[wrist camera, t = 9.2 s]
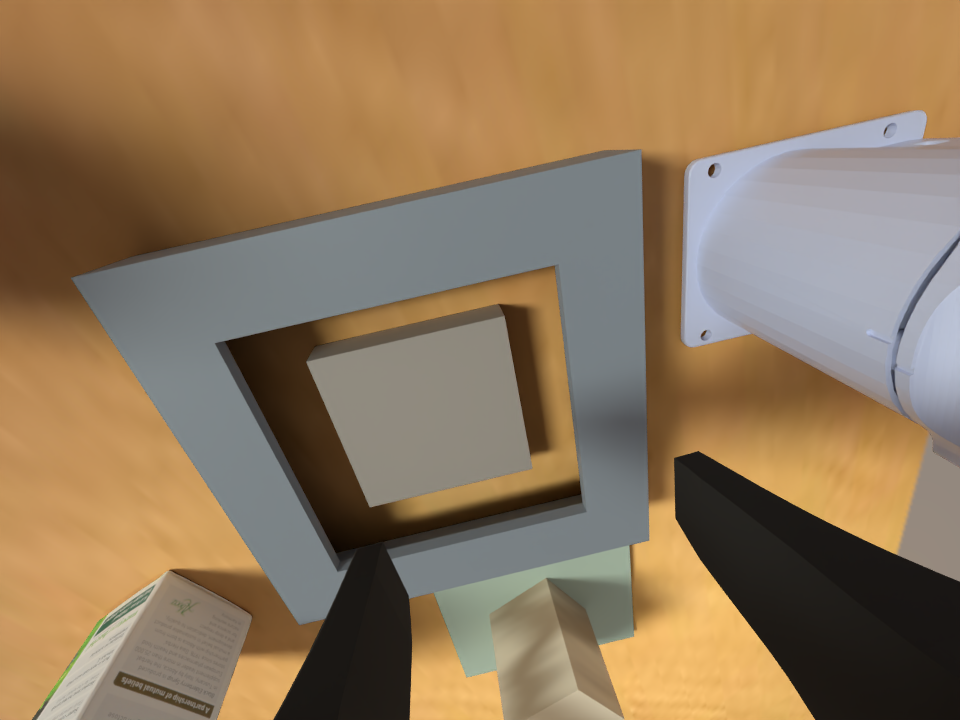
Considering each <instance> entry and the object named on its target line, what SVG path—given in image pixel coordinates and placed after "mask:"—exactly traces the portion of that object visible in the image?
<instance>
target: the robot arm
mask: <svg viewBox="0 0 960 720" xmlns="http://www.w3.org/2000/svg"><path fill="white" fill-rule="evenodd" d="M926 121H927V116H926V114H925V112H923V111H922V110H917V111H908V112H903V113H899V114H894V115H890V116H886V117H881V118H877V119H872V120H868V121H864V122H859V123H855V124H850V125H846V126H841V127H837V128H833V129H828V130H824V131H819V132H815V133H810V134H806V135H802V136H797V137H793V138H788V139H784V140H779V141H775V142H771V143H766V144H762V145H757V146H753V147H748V148H744V149H740V150H735V151H731V152H726V153H722V154H718V155H713V156H709V157H704V158H700V159H696V160H694V161H692V162H691V163H690V164H689V165H688V167H687V168H686V170H685V175H684V214H683V259H682V305H681V341H682V342H683V343H684V344H685V345H686V346H688V347H697V346H702V345H706V344H710V343H714V342H719V341H723V340H727V339H731V338H736V337H740V336H744V335H749V334H754V335H756V336H757V337H759V338H761V339H763V340H765V341H767V342H768V343H770V344H772V345H774V346H776V347H778V348H779V349H781V350H783V351H785V352H787V353H789V354H790V355H792V356H794V357H796V358H798V359H800V360H801V361H803V362H805V363H807V364H809V365H811V366H812V367H814V368H816V369H818V370H820V371H822V372H823V373H825V374H827V375H829V376H831V377H833V378H834V379H836V380H838V381H840V382H842V383H844V384H845V385H847V386H849V387H851V388H853V389H855V390H856V391H858V392H860V393H862V394H864V395H866V396H867V397H869V398H871V399H873V400H875V401H877V402H878V403H880V404H882V405H884V406H886V407H888V408H889V409H891V410H893V411H895V412H897V413H899V414H900V415H902V416H904V417H906V418H908V419H910V420H911V421H913V422H915V423H917V424H919V425H921V426H922V427H923V428H925V429H926V430H927V431H928V432H929V433H930V435H931V436H932V440H933V452H934V453H936V454H937V455H939V456H941V457H942V458H944V459H946V460H948V461H949V462H951V463H953V464H955V465H956V466H958V467H960V138H932V139H922V138H923V134H924V130H925V126H926ZM886 127H887V131H886V133H885V135H884V130H885V128H886ZM712 164H714V166H715V171H714V173H713V175H712V176H709V175H708V170H709V167H710V166H711V165H712ZM705 330H707V331H706V334H705V335H704V336H702V337H700V336H701V334H702V333H703V331H705ZM674 471H675V516H676V520H677V521H678V523H679V525H680V527H681V528H682V530H683V532H684V534H685V535H686V537H687V539H688V540H689V542H690V544H691V545H692V547H693V549H694V550H695V552H696V553H697V555H698V557H699V558H700V560H701V561H702V562H703V564H704V565H705V567H706V568H707V569H708V571H709V572H710V573H711V575H712V576H713V577H714V579H715V580H716V581H717V583H718V584H719V585H720V587H721V588H722V589H723V591H724V592H725V593H726V595H727V596H728V597H729V599H730V600H731V601H732V602H733V604H734V605H735V606H736V608H737V609H738V610H739V612H740V613H741V614H742V616H743V617H744V618H745V620H746V621H747V622H748V624H749V625H750V626H751V627H752V629H753V630H754V631H755V633H756V634H757V635H758V637H759V638H760V639H761V641H762V642H763V643H764V645H765V646H766V647H767V649H768V650H769V651H770V653H771V654H772V655H773V657H774V658H775V660H776V661H777V662H778V664H779V665H780V667H781V668H782V669H783V671H784V672H785V674H786V675H787V676H788V678H789V679H790V681H791V683H792V684H793V686H794V687H795V689H796V690H797V692H798V693H799V695H800V697H801V698H802V700H803V701H804V703H805V704H806V706H807V708H808V709H809V711H810V712H811V714H812V715H813V717H814V718H815V720H960V582H959V581H957V580H954V579H952V578H949V577H947V576H945V575H942V574H940V573H937V572H935V571H933V570H930V569H928V568H926V567H923V566H921V565H919V564H916V563H914V562H912V561H909V560H907V559H904V558H902V557H900V556H898V555H896V554H893V553H891V552H889V551H886V550H884V549H882V548H880V547H878V546H876V545H873V544H871V543H869V542H867V541H865V540H863V539H861V538H859V537H857V536H854V535H852V534H850V533H848V532H846V531H844V530H842V529H840V528H838V527H836V526H834V525H832V524H830V523H828V522H826V521H824V520H822V519H820V518H818V517H816V516H814V515H812V514H810V513H808V512H806V511H805V510H803V509H801V508H799V507H797V506H795V505H793V504H791V503H790V502H788V501H786V500H784V499H782V498H780V497H778V496H777V495H775V494H773V493H771V492H769V491H768V490H766V489H764V488H762V487H760V486H759V485H757V484H755V483H753V482H752V481H750V480H748V479H746V478H744V477H743V476H741V475H739V474H737V473H736V472H734V471H732V470H730V469H729V468H727V467H725V466H724V465H722V464H720V463H718V462H717V461H715V460H713V459H711V458H710V457H708V456H706V455H704V454H702V453H701V452H699V451H697V452H694V453H690V454H687V455H683V456H680V457H676V458H674ZM411 663H412V634H411V618H410V605H409V595H408V593H407V591H406V589H405V587H404V585H403V583H402V581H401V578H400V576H399V574H398V572H397V570H396V568H395V566H394V564H393V562H392V560H391V558H390V556H389V554H388V552H387V549H386V547H385V545H384V543H383V542H379V543H376V544H372V545H369V546H365V547H362V548H358V549H357V550H356V552H355V553H354V556H353V558H352V560H351V562H350V565H349V567H348V569H347V572H346V574H345V576H344V579H343V581H342V583H341V585H340V588H339V590H338V592H337V594H336V597H335V599H334V601H333V603H332V605H331V608H330V610H329V612H328V614H327V616H326V618H325V620H324V623H323V625H322V627H321V629H320V631H319V633H318V635H317V637H316V639H315V641H314V643H313V645H312V648H311V650H310V652H309V654H308V656H307V658H306V660H305V662H304V663H303V665H302V667H301V669H300V671H299V673H298V675H297V677H296V679H295V681H294V682H293V684H292V686H291V688H290V690H289V692H288V694H287V696H286V698H285V700H284V701H283V703H282V705H281V707H280V709H279V711H278V712H277V714H276V716H275V718H274V720H409V718H410V692H411Z"/></svg>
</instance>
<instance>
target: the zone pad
mask: <svg viewBox="0 0 960 720" xmlns="http://www.w3.org/2000/svg"><path fill="white" fill-rule="evenodd" d="M545 578H547V579H548V580H549V581H551V582H552V583H553V584H555V585H556V586H557V587H558V588H560V589H561V590H562V591H563V592H565V593H566V594H567V595H568V596H570V597H571V598H572V599H574V600H575V601H576V602H577V603H579V604H580V605H581V606H582V607H584V608H585V609H586V612H587V614H588V617H589V620H590V623H591V626H592V629H593V631H594V634H595V637H596V640H597V643H598V645H601V644H605V643H609V642H613V641H617V640H621V639H625V638H630V637H634V625H633V605H632V586H631V567H630V548H629V545H628V546H624V547H620V548H616V549H612V550H608V551H604V552H599V553H595V554H591V555H587V556H583V557H579V558H575V559H571V560H566V561H562V562H558V563H554V564H550V565H546V566H542V567H538V568H533V569H529V570H525V571H521V572H517V573H513V574H509V575H505V576H500V577H496V578H492V579H488V580H484V581H480V582H476V583H471V584H467V585H463V586H459V587H455V588H451V589H447V590H443V591H438V592H434V595H435V598H436V600H437V603H438V605H439V608H440V611H441V613H442V616H443V618H444V621H445V623H446V626H447V628H448V631H449V634H450V636H451V639H452V641H453V644H454V646H455V649H456V651H457V654H458V657H459V659H460V662H461V664H462V667H463V669H464V672H465V674H466V677H471V676H475V675H479V674H483V673H487V672H491V671H496V670H497V667H496V660H495V653H494V646H493V638H492V631H491V624H490V617H489V614H491V613H492V612H494V611H495V610H497V609H498V608H500V607H501V606H503V605H505V604H506V603H508V602H509V601H511V600H512V599H514V598H515V597H517V596H519V595H520V594H522V593H523V592H525V591H526V590H528V589H529V588H531V587H533V586H534V585H536V584H537V583H539V582H540V581H542V580H543V579H545Z"/></svg>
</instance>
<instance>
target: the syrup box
mask: <svg viewBox="0 0 960 720" xmlns="http://www.w3.org/2000/svg"><path fill="white" fill-rule="evenodd" d="M251 621H252V616H251V615H250V614H249V613H248V612H246V611H244V610H242V609H241V608H240V607H238V606H236V605H235V604H233V603H231V602H230V601H228V600H226V599H224V598H222V597H220V596H218V595H217V594H215V593H213V592H211V591H209V590H207V589H205V588H203V587H201V586H199V585H197V584H195V583H193V582H192V581H190V580H188V579H186V578H184V577H182V576H180V575H178V574H175V573H174V572H172V571H167V572H165V573H164V574H163V575H161V577H159V578H158V579H156V580H155V581H153V582H152V583H151V584H149V585H148V586H146V587H145V588H143V589H142V590H140V591H139V592H137V593H136V594H135V595H133V596H132V597H131V598H129V599H128V600H126V601H125V602H124V603H122V604H121V605H120V606H118V607H117V608H116V609H114V610H113V611H111V612H110V613H109V614H108V615H106V616H105V617H104V618H102V619H100V620H99V621H98V622H97V624H96V626H95V627H94V629H93V630H92V632H91V633H90V635H89V636H88V638H87V639H86V641H85V642H84V643H83V645H82V646H81V648H80V649H79V651H78V652H77V654H76V655H75V657H74V658H73V660H72V661H71V663H70V664H69V666H68V667H67V669H66V670H65V672H64V673H63V675H62V676H61V678H60V679H59V681H58V682H57V684H56V685H55V686H54V688H53V689H52V691H51V692H50V694H49V695H48V697H47V698H46V699H45V701H44V703H43V704H42V706H41V707H40V709H39V710H38V712H37V713H36V715H35V716H34V717H33V719H32V720H217V718H218V715H219V712H220V709H221V706H222V703H223V700H224V698H225V695H226V692H227V690H228V687H229V684H230V681H231V678H232V675H233V673H234V670H235V667H236V664H237V661H238V658H239V655H240V653H241V650H242V647H243V644H244V641H245V639H246V636H247V633H248V630H249V627H250V624H251Z"/></svg>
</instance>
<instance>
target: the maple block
mask: <svg viewBox="0 0 960 720" xmlns="http://www.w3.org/2000/svg"><path fill="white" fill-rule="evenodd" d="M489 617H490V624H491V631H492V638H493V646H494V653H495V660H496V667H497V674H498V681H499V688H500V695H501V702H502V710H503V717H504V720H624V716H623V713H622V710H621V708H620V705H619V702H618V699H617V696H616V693H615V691H614V688H613V685H612V682H611V679H610V677H609V674H608V671H607V668H606V665H605V662H604V660H603V657H602V654H601V651H600V648H599V646H598V643H597V640H596V637H595V634H594V631H593V629H592V626H591V623H590V620H589V617H588V614H587V612H586V609H585V608H584V607H582V606H581V605H580V604H579V603H577V602H576V601H575V600H574V599H572V598H571V597H570V596H568V595H567V594H566V593H565V592H563V591H562V590H561V589H560V588H558V587H557V586H556V585H555V584H553V583H552V582H551V581H549V580H548V579H547V578H545V579H543V580H542V581H540V582H539V583H537V584H536V585H534V586H533V587H531V588H529V589H528V590H526V591H525V592H523V593H522V594H520V595H519V596H517V597H515V598H514V599H512V600H511V601H509V602H508V603H506V604H505V605H503V606H501V607H500V608H498V609H497V610H495V611H494V612H492V613H491V614H489Z"/></svg>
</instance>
